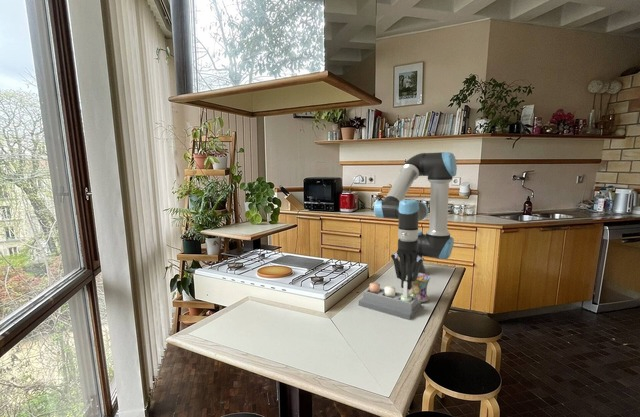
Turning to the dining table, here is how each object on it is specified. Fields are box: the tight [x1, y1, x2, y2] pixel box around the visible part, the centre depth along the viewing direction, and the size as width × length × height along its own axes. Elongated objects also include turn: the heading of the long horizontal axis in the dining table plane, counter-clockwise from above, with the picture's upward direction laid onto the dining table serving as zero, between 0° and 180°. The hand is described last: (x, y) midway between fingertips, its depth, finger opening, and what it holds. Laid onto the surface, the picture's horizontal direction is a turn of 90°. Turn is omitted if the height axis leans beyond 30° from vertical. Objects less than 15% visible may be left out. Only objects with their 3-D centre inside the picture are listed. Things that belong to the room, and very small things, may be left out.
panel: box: [358, 286, 422, 321], centre depth 129 cm, size 14×22×5 cm, turn 54°
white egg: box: [384, 285, 396, 298], centre depth 128 cm, size 4×4×4 cm
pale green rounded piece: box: [401, 295, 412, 302], centre depth 125 cm, size 4×4×4 cm
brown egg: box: [369, 282, 381, 294], centre depth 133 cm, size 4×4×4 cm
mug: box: [406, 273, 431, 303], centre depth 135 cm, size 12×9×11 cm
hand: (406, 296), depth 124 cm, fingers closed
